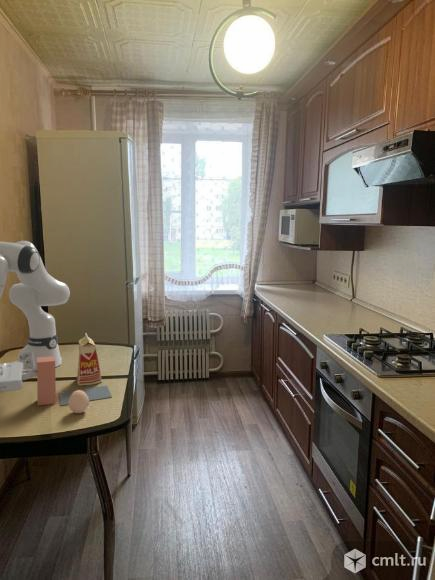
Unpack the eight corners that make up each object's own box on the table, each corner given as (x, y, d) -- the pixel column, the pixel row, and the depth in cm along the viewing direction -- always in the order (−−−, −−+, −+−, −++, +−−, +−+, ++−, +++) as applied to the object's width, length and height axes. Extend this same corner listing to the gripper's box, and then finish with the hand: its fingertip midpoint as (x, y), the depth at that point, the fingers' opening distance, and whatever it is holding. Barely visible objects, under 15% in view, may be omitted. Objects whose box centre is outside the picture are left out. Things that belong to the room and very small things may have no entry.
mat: (60, 405, 146) (60, 405, 146) (59, 393, 157) (59, 392, 157) (111, 397, 154) (111, 396, 153) (107, 386, 164) (106, 385, 164)
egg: (88, 415, 139) (87, 393, 138) (68, 417, 137) (66, 395, 136) (90, 407, 145) (89, 386, 144) (70, 409, 144) (69, 387, 143)
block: (37, 405, 146) (36, 362, 144) (37, 399, 152) (36, 357, 150) (55, 403, 149) (55, 360, 146) (55, 397, 154) (54, 356, 152)
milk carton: (76, 379, 172) (73, 333, 169) (99, 376, 176) (96, 330, 173) (78, 387, 164) (75, 338, 161) (102, 383, 167) (99, 335, 164)
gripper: (-11, 380, 132) (35, 374, 138) (-5, 361, 151) (36, 356, 156) (-9, 398, 133) (37, 391, 139) (-3, 377, 152) (37, 372, 157)
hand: (36, 372), depth 147 cm, fingers closed
